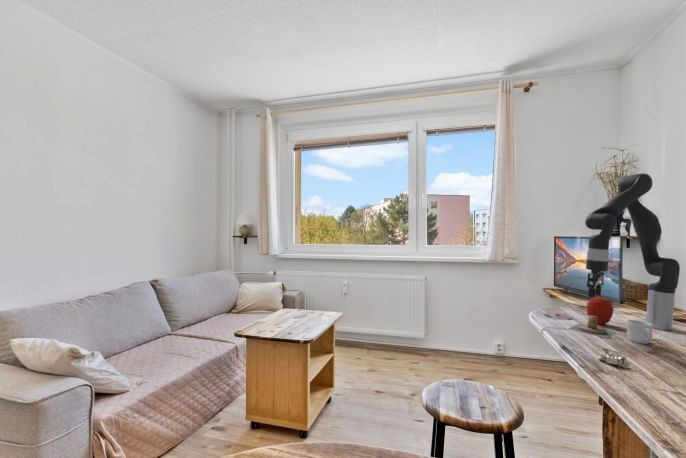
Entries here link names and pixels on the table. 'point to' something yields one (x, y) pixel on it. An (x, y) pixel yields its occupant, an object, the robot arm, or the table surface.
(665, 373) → the table surface
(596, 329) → the lid
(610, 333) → the mat
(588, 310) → the apple
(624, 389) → the table surface
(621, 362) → the ornament
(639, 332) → the cup
